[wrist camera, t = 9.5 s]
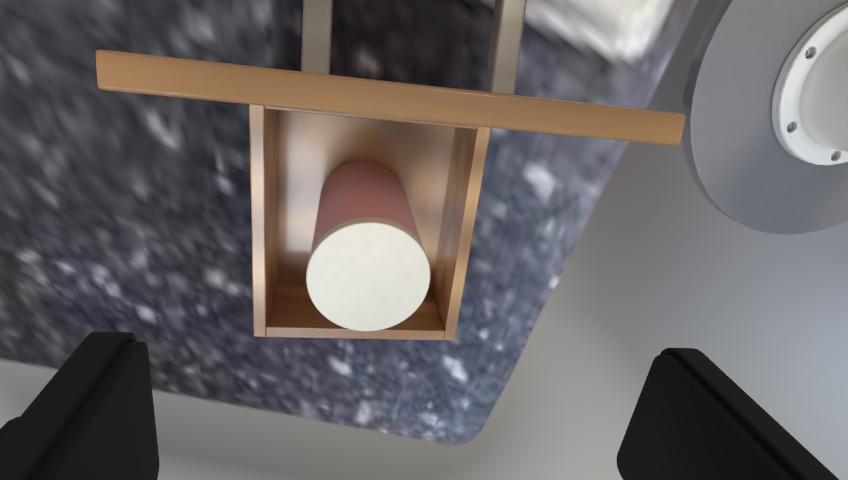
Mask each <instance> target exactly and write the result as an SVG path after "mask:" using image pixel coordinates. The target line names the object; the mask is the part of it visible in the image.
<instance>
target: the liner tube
mask: <svg viewBox="0 0 848 480" xmlns="http://www.w3.org/2000/svg"><path fill="white" fill-rule="evenodd" d="M306 283H307V289H308V293H309V295H310V298H311V300H312V302H313V303H314V305H315V307H316V308H317V309H318V310H319V311H320V313H322V314H323V315H324V316H325V317H326V318H327V319H329V320H330V321H331V322H333V323H335V324H337V325H339V326H342V327H344V328H347V329H351V330H357V331H377V330H382V329H386V328H389V327H392V326H394V325H397V324H399V323H400V322H402V321H404V320H405V319H407V318H408V317H409V316H411V315H412V314H413V313H414V312H415V311H416V310H417V308H418V307H419V306H420V305H421V303H422V302H423V300H424V298H425V296H426V294H427V291H428V288H429V284H430V265H429V262H428V258H427V255H426V252H425V250H424V248H423V246H422V243H421V240H420V237H419V234H418V231H417V228H416V225H415V221H414V218H413V215H412V212H411V209H410V206H409V203H408V200H407V197H406V194H405V191H404V188H403V185H402V183H401V181H400V180H399V178H398V177H397V176H396V175H395V173H393V172H392V171H391V170H390V169H389V168H387V167H386V166H384V165H382V164H379V163H377V162H373V161H366V160H359V161H353V162H349V163H346V164H344V165H342V166H340V167H339V168H337V169H336V170H334V171H333V172H332V173H331V174H330V175H329V177H328V178H327V179H326V181H325V183H324V185H323V187H322V190H321V195H320V200H319V206H318V212H317V218H316V224H315V230H314V236H313V242H312V248H311V254H310V257H309V261H308V266H307V272H306Z"/></svg>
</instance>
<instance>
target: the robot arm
mask: <svg viewBox="0 0 848 480" xmlns="http://www.w3.org/2000/svg"><path fill="white" fill-rule="evenodd" d="M771 116H772V124H773V129H774V132H775V134H776V137H777V140H778V141H779V143H780V144H781V145H782V147H783V148H784V149H785V150H786V151H787V152H788V153H789V154H791V155H792V156H793V157H796V158H798V159H800V160H802V161H806V162H809V163H813V164H816V165H834V164H841V163H845V162H848V3H846V4H844V5H842V6H840V7H838V8H836V9H834V10H833V11H831V12H829V13H828V14H827V15H825V16H824V17H823V18H821V19H820V20H819V21H817V22H816V23H815V24H814V25H813V26H812V27H811V28H810V29H809V30H808V31H807V32H806V33H805V34H804V35H803V36H802V37H801V39H800V40H799V41H798V43H797V44H796V45H795V47H794V48H793V49H792V51H791V52H790V54H789V56H788V58H787V59H786V61H785V63H784V65H783V66H782V69H781V71H780V74H779V76H778V79H777V81H776V85H775V89H774V93H773V97H772V109H771ZM617 466H618V470H619V473H620V475H621V476H622V478H623V480H839V479H838V478H837V477H836V476H835V475H833V474H832V473H831V472H830V471H829V470H828V469H827V468H826V467H825V466H824V465H823V464H822V463H821V462H819V461H818V460H817V459H816V458H815V457H814V456H813V455H812V454H811V453H810V452H809V451H808V450H806V449H805V448H804V447H803V446H802V445H801V444H800V443H799V442H798V441H797V440H796V439H795V438H794V437H793V436H791V435H790V434H789V433H788V432H787V431H786V430H785V429H784V428H783V427H782V426H781V425H780V424H779V423H778V422H776V421H775V420H774V419H773V418H772V417H771V416H770V415H769V414H768V413H767V412H765V410H763V409H762V408H761V407H760V406H759V405H758V404H757V403H756V402H755V401H754V400H753V399H752V398H751V397H749V396H748V395H747V394H746V393H745V392H744V391H743V390H742V389H741V388H740V387H739V386H738V385H737V384H736V383H734V382H733V381H732V380H731V379H730V378H729V377H728V376H727V375H726V374H725V373H724V372H723V371H722V370H720V369H719V368H718V367H717V366H716V365H715V364H714V363H713V362H712V361H711V360H710V359H709V358H708V357H706V356H705V355H704V354H703V353H702V352H701V351H699V350H697V349H692V348H667V349H665V350H663V351H662V352H661V354H660V355H659V356H657V357H655V359H654V360H653V363H652V365H651V368H650V371H649V373H648V376H647V378H646V381H645V384H644V386H643V389H642V391H641V394H640V397H639V399H638V402H637V404H636V407H635V410H634V413H633V415H632V417H631V420H630V423H629V425H628V428H627V431H626V433H625V436H624V439H623V441H622V444H621V446H620V449H619V452H618V455H617ZM158 472H159V455H158V445H157V436H156V425H155V416H154V406H153V396H152V386H151V376H150V366H149V356H148V348H147V345H146V343H145V342H136V338H135V336H134V334H132V333H125V332H92V333H90V334H89V335H88V336H87V337H86V338H85V339H84V340H83V342H82V343H81V344H80V345H79V346H78V348H77V349H76V350H75V351H74V352H73V354H72V355H71V356H70V357H69V358H68V360H67V361H66V362H65V363H64V364H63V366H62V367H61V368H60V369H59V371H58V372H57V373H56V374H55V375H54V377H53V378H52V379H51V380H50V381H49V383H48V384H47V385H46V386H45V387H44V389H43V390H42V391H41V392H40V394H39V395H38V396H37V397H36V398H35V400H34V401H33V402H32V403H31V404H30V406H29V407H28V408H27V409H26V410H25V412H24V413H23V414H22V415H21V416H20V417H16V418H14V419H12V420H10V421H8V422H7V423H6V424H5V425H4V426H3V427H2V428H1V429H0V480H157V477H158Z"/></svg>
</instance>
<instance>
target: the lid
mask: <svg viewBox="0 0 848 480" xmlns="http://www.w3.org/2000/svg"><path fill="white" fill-rule="evenodd" d="M526 2H527V0H495V8H494V17H493V25H492V33H491V41H490V50H489V58H488V66H487V75H486V83H485V91H484V92H481V91H472V90H463V89H454V88H445V87H436V86H427V85H418V84H409V83H400V82H391V81H382V80H373V79H363V78H354V77H345V76H336V75H330V55H331V34H332V12H333V0H303V25H302V55H301V72H300V71H291V70H282V69H273V68H264V67H255V66H246V65H237V64H228V63H218V62H209V61H200V60H191V59H182V58H173V57H164V56H155V55H146V54H137V53H128V52H119V51H110V50H101V49H100V50H97V51H96V67H97V82H98V87H99V88H100V89H102V90H109V91H119V92H129V93H139V94H150V95H160V96H170V97H181V98H191V99H201V100H211V101H222V102H232V103H242V104H252V105H263V106H273V107H283V108H294V109H304V110H314V111H324V112H335V113H345V114H355V115H365V116H376V117H386V118H396V119H407V120H417V121H427V122H437V123H448V124H458V125H468V126H478V127H489V128H499V129H509V130H520V131H530V132H540V133H550V134H561V135H571V136H581V137H591V138H602V139H612V140H622V141H633V142H643V143H653V144H663V145H675V146H676V145H679V144H680V141H681V136H682V132H683V127H684V123H685V118H686V117H685V115H684V114H681V113H672V112H663V111H654V110H644V109H635V108H626V107H617V106H608V105H599V104H590V103H581V102H572V101H563V100H554V99H545V98H536V97H527V96H518V95H514V91H515V84H516V76H517V69H518V62H519V54H520V47H521V39H522V32H523V25H524V17H525V10H526Z"/></svg>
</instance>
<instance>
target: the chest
mask: <svg viewBox="0 0 848 480" xmlns="http://www.w3.org/2000/svg"><path fill="white" fill-rule="evenodd" d="M249 129H250V179H251V229H252V279H253V329H254V336H255V337H265V336H266V337H300V338H353V339H407V340H455V334H456V329H457V323H458V317H459V311H460V305H461V299H462V294H463V288H464V282H465V276H466V270H467V264H468V258H469V253H470V247H471V241H472V235H473V229H474V223H475V217H476V212H477V206H478V200H479V194H480V188H481V182H482V177H483V171H484V165H485V159H486V153H487V147H488V141H489V136H490V130H491V128H489V127H478V126H468V125H458V124H448V123H437V122H427V121H417V120H407V119H396V118H386V117H376V116H365V115H355V114H345V113H335V112H324V111H314V110H304V109H294V108H283V107H273V106H263V105H252V104H249ZM359 160H366V161H373V162H377V163H379V164H382V165H384V166H386V167H387V168H389V169H390V170H391V171H392V172H393V173H395V175H396V176H397V177H398V178H399V180H400V181H401V183H402V185H403V188H404V191H405V194H406V197H407V200H408V203H409V206H410V209H411V212H412V215H413V218H414V221H415V225H416V228H417V231H418V234H419V237H420V240H421V243H422V246H423V248H424V250H425V252H426V255H427V258H428V262H429V265H430V284H429V288H428V291H427V294H426V296H425V298H424V300H423V302H422V303H421V305H420V306H419V307H418V308H417V310H416V311H415V312H414V313H413V314H412V315H411V316H409V317H408V318H407V319H405V320H404V321H402V322H400V323H399V324H397V325H394V326H392V327H389V328H386V329H382V330H377V331H357V330H351V329H347V328H344V327H342V326H339V325H337V324H335V323H333V322H331V321H330V320H329V319H327V318H326V317H325V316H324V315H323V314H322V313H320V311H319V310H318V309H317V308H316V307H315V305H314V303H313V302H312V300H311V298H310V295H309V293H308V289H307V283H306V272H307V266H308V261H309V257H310V254H311V248H312V242H313V236H314V230H315V224H316V218H317V212H318V206H319V200H320V195H321V190H322V187H323V185H324V183H325V181H326V179H327V178H328V177H329V175H330V174H331V173H332V172H333V171H334V170H336V169H337V168H339V167H340V166H342V165H344V164H346V163H349V162H353V161H359Z"/></svg>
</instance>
